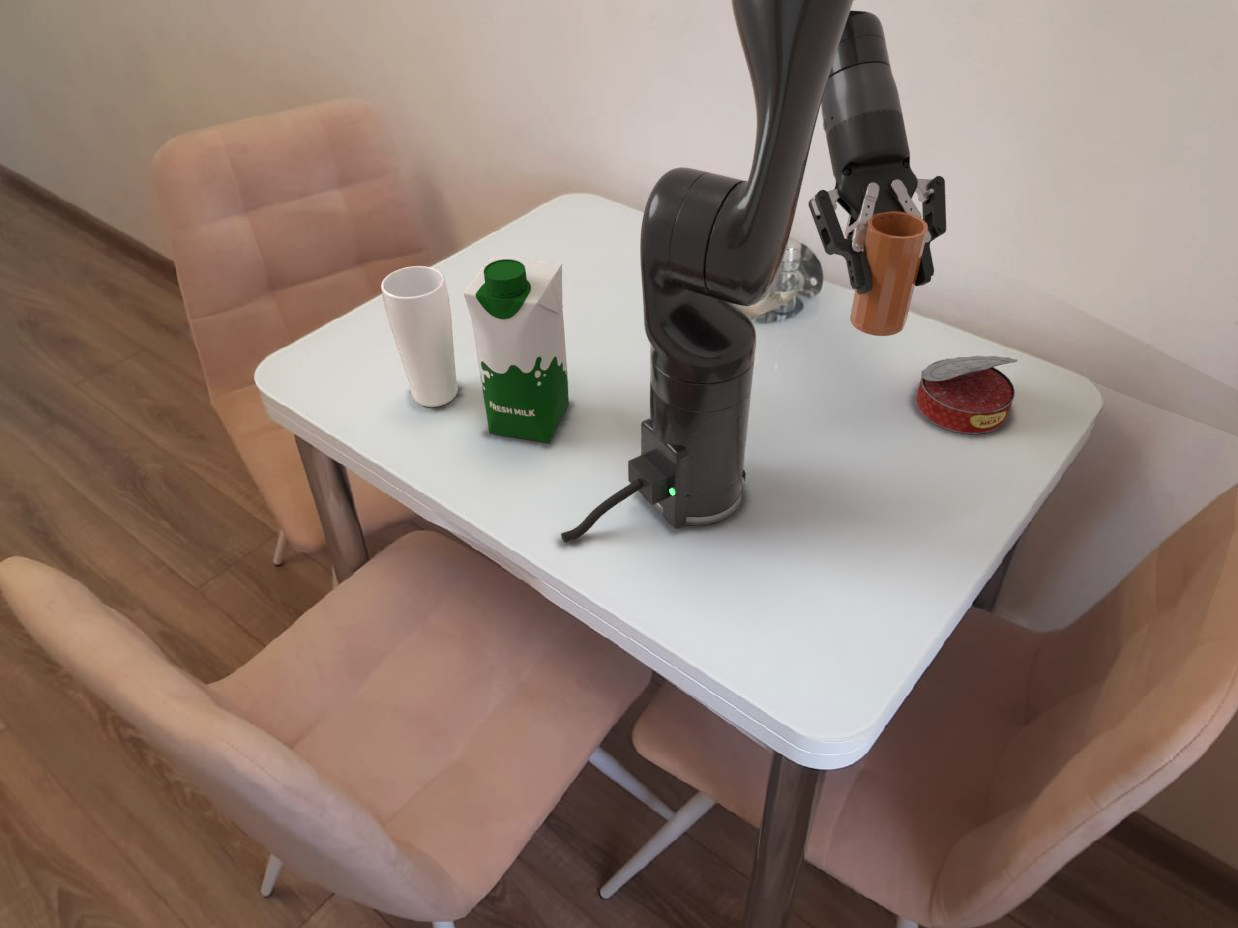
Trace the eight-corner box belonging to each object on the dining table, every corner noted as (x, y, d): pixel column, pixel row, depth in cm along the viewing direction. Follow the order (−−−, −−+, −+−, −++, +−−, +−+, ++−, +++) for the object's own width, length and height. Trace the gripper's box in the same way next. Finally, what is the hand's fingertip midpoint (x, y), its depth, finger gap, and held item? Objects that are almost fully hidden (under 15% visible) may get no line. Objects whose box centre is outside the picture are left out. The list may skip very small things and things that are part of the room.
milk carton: (478, 437, 97) (451, 276, 83) (508, 388, 103) (487, 231, 90) (554, 450, 95) (539, 287, 81) (579, 400, 101) (569, 241, 88)
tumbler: (877, 342, 90) (898, 244, 82) (838, 317, 93) (855, 221, 86) (916, 325, 92) (940, 227, 84) (876, 301, 95) (896, 206, 88)
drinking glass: (402, 383, 104) (376, 271, 94) (459, 372, 105) (440, 260, 95) (410, 418, 99) (383, 303, 89) (469, 406, 101) (450, 291, 91)
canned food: (923, 456, 100) (895, 392, 94) (932, 396, 106) (906, 332, 100) (1031, 441, 93) (1008, 372, 88) (1034, 378, 99) (1012, 310, 94)
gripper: (809, 114, 84) (842, 288, 83) (948, 99, 86) (981, 268, 85) (783, 147, 91) (813, 307, 90) (911, 132, 93) (941, 288, 93)
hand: (894, 287), depth 88 cm, fingers closed on tumbler, 5 cm apart
